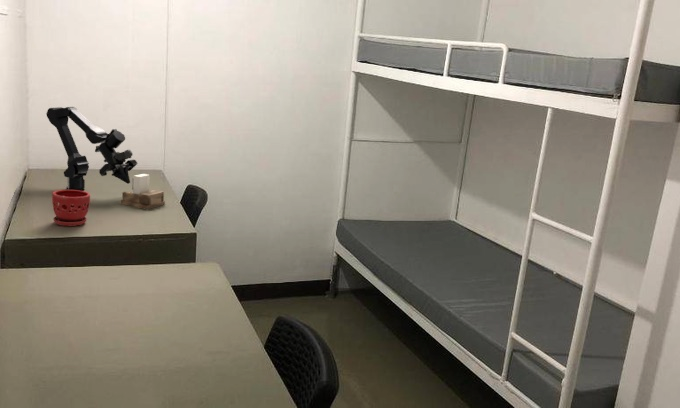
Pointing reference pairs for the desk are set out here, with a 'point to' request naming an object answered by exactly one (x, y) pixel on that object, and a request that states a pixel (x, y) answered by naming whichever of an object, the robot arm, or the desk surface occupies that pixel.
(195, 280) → the desk surface
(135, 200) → the housing
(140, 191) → the white rectangular block
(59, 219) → the plant pot
